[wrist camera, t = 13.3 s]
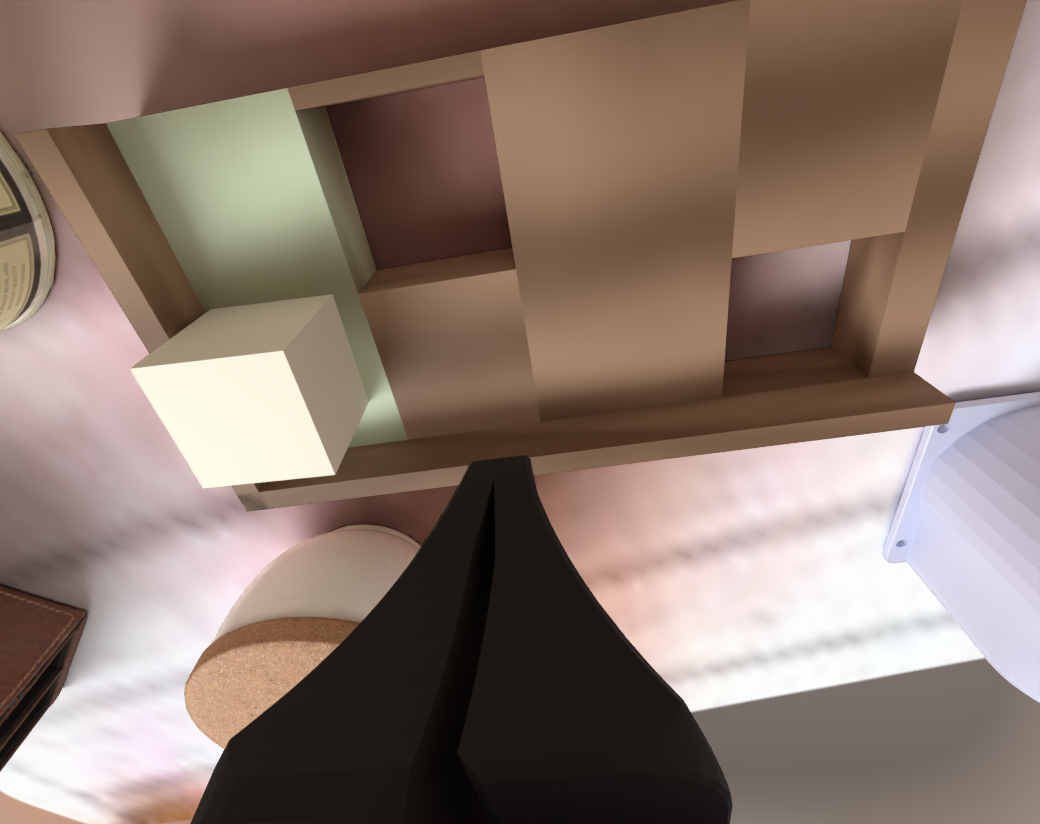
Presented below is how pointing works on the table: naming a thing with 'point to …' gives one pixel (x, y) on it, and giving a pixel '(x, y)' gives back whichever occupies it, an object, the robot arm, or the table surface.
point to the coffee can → (22, 242)
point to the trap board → (581, 233)
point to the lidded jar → (292, 623)
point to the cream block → (258, 391)
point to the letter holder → (32, 660)
